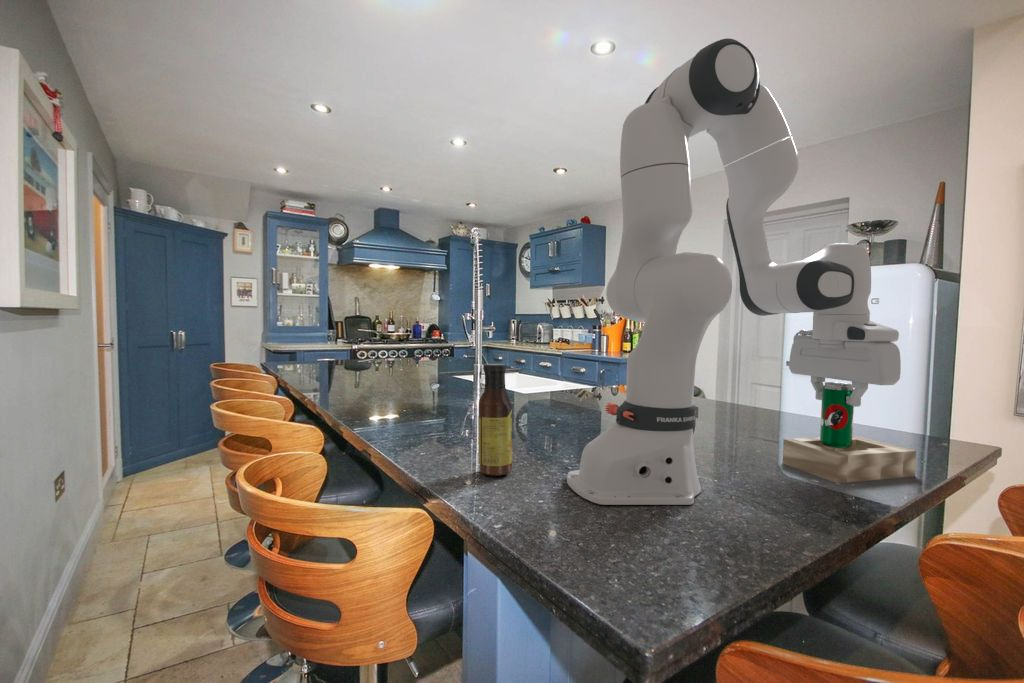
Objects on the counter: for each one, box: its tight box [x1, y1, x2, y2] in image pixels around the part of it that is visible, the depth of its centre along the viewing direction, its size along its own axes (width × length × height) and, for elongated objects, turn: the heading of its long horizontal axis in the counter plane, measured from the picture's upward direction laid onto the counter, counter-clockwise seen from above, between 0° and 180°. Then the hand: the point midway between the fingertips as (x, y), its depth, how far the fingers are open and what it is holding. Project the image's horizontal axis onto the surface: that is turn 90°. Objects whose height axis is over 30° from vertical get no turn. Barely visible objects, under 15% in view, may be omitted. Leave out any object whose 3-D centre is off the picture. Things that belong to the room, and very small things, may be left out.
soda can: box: [819, 381, 855, 449], centre depth 89 cm, size 5×5×12 cm
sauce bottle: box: [477, 363, 514, 477], centre depth 86 cm, size 6×6×20 cm
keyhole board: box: [782, 434, 917, 484], centre depth 90 cm, size 18×12×5 cm, turn 104°
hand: (837, 402), depth 89 cm, fingers closed on soda can, 5 cm apart
